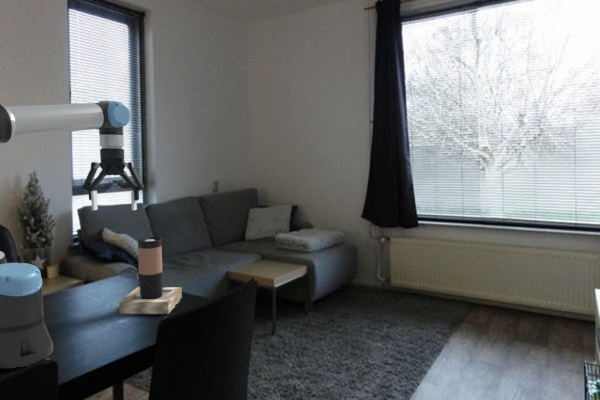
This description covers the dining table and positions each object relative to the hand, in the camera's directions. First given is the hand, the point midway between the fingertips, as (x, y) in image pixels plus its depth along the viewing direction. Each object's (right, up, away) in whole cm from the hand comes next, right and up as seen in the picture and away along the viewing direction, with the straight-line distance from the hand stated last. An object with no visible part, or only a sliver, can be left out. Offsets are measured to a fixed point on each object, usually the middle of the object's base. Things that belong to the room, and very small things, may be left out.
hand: (114, 210), depth 152 cm
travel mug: (+13, -30, 0) cm, 32 cm away
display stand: (+13, -33, 0) cm, 35 cm away
